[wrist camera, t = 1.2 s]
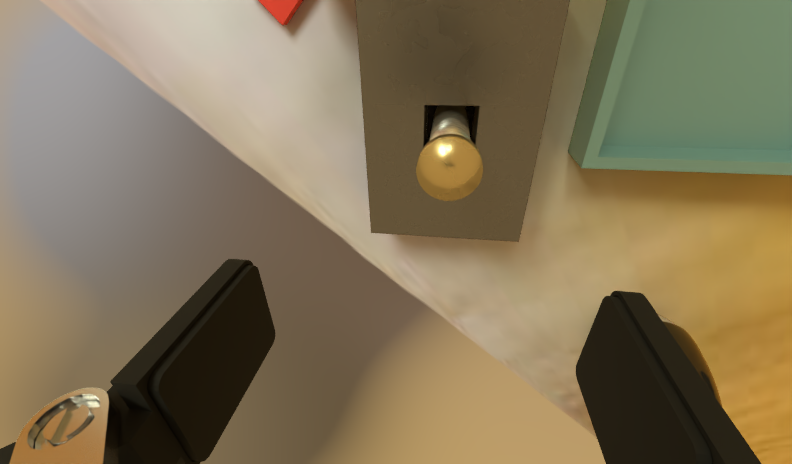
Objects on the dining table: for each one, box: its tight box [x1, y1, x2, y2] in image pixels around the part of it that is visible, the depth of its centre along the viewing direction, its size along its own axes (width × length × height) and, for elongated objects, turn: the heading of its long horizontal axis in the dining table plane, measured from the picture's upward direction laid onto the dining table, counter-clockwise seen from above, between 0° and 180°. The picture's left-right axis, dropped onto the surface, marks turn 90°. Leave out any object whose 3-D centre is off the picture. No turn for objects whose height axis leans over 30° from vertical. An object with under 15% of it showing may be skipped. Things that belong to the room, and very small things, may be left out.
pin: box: [416, 105, 483, 201], centre depth 26 cm, size 4×4×13 cm
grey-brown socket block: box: [356, 0, 570, 242], centre depth 30 cm, size 20×14×5 cm
